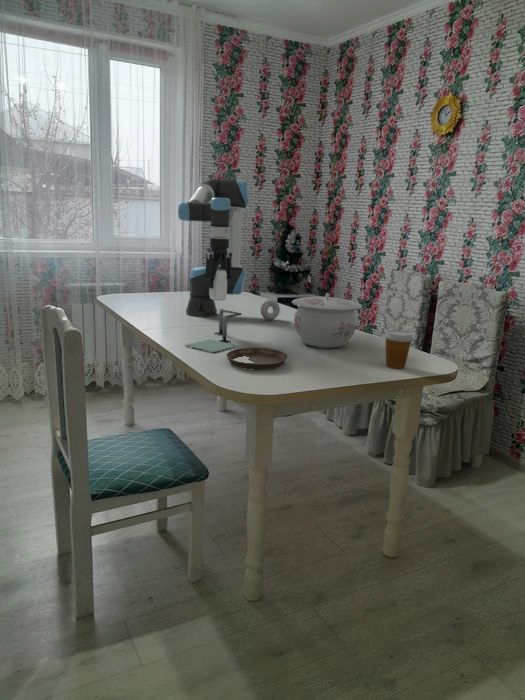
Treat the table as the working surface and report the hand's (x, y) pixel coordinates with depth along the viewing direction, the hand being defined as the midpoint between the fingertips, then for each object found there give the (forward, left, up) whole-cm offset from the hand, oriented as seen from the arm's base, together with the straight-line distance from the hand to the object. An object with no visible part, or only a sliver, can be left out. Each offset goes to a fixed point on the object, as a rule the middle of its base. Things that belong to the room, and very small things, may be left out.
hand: (218, 295), depth 219 cm
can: (0, 0, -2) cm, 2 cm away
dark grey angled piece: (+6, -3, -16) cm, 18 cm away
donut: (-3, +43, -16) cm, 46 cm away
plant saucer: (+38, -25, -17) cm, 49 cm away
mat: (+12, -18, -16) cm, 27 cm away
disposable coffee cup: (+75, +6, -16) cm, 77 cm away
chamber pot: (+41, +17, -16) cm, 47 cm away
